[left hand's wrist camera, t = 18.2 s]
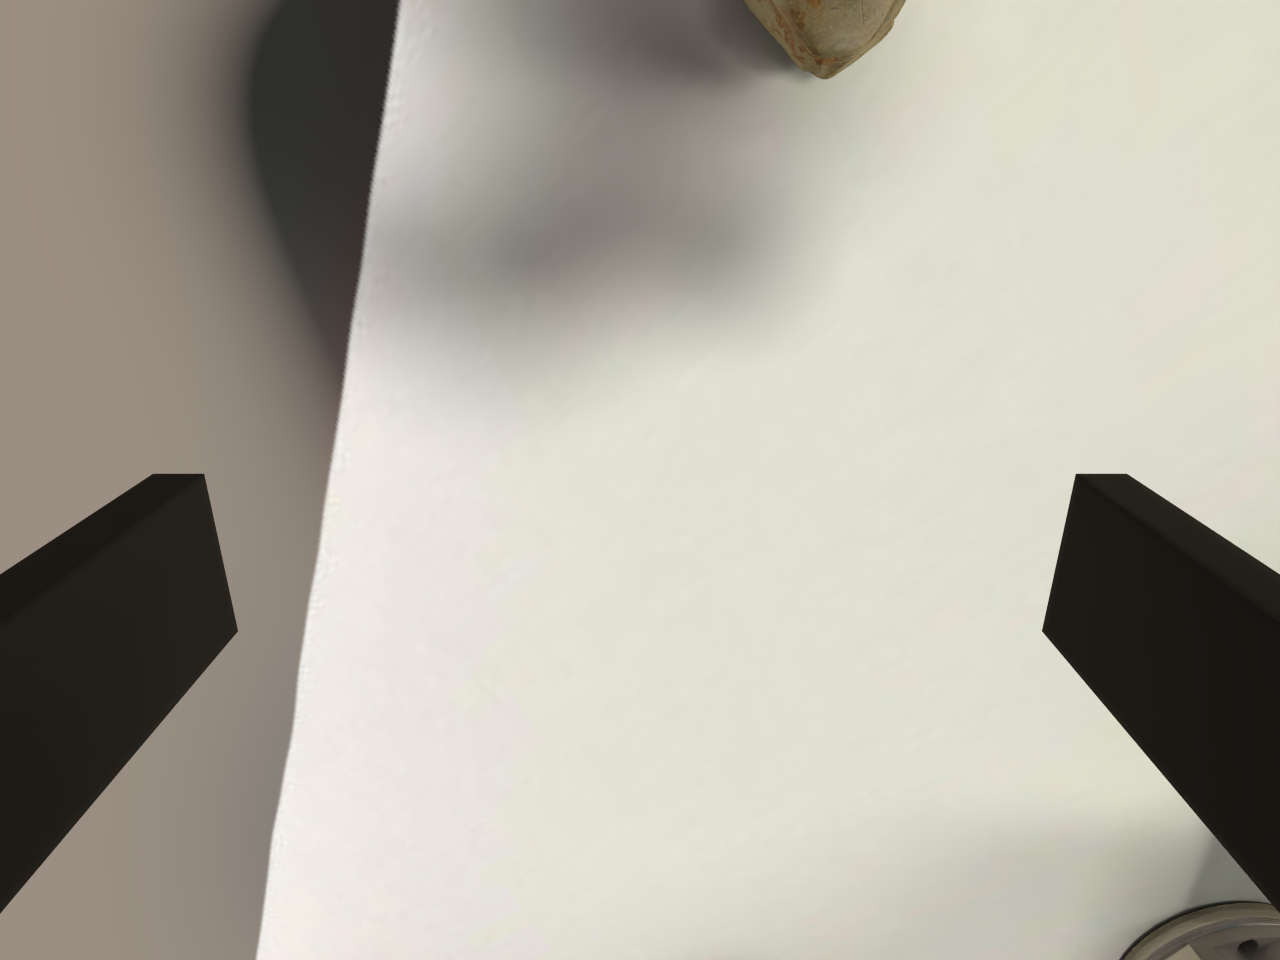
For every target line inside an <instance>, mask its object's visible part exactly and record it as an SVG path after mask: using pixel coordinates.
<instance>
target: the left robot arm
mask: <svg viewBox="0 0 1280 960" xmlns="http://www.w3.org/2000/svg"><path fill="white" fill-rule="evenodd" d="M237 632H238V629H237V624H236V620H235V615H234V611H233V606H232V601H231V597H230V592H229V587H228V583H227V578H226V573H225V569H224V564H223V559H222V555H221V550H220V546H219V541H218V536H217V532H216V527H215V522H214V518H213V513H212V508H211V504H210V499H209V495H208V490H207V485H206V481H205V476H204V474H152V475H151V476H149V477H148V478H146V479H145V480H143V481H142V482H140V483H139V484H137V485H136V486H134V487H133V488H131V489H129V490H128V491H126V492H125V493H123V494H122V495H120V496H119V497H117V498H116V499H114V500H113V501H111V502H110V503H108V504H107V505H105V506H104V507H102V508H101V509H99V510H98V511H96V512H95V513H93V514H91V515H90V516H88V517H87V518H85V519H84V520H82V521H81V522H79V523H78V524H76V525H75V526H73V527H72V528H70V529H69V530H67V531H66V532H64V533H63V534H61V535H60V536H58V537H56V538H55V539H54V540H52V541H50V542H49V543H47V544H46V545H44V546H43V547H41V548H40V549H38V550H37V551H35V552H34V553H32V554H31V555H29V556H28V557H26V558H25V559H23V560H22V561H20V562H19V563H17V564H15V565H14V566H12V567H11V568H9V569H8V570H6V571H5V572H3V573H2V574H0V913H1V912H2V911H3V909H4V908H5V907H6V906H7V905H8V904H9V902H10V901H11V900H12V899H13V898H14V896H15V895H16V894H17V893H18V892H19V890H20V889H21V888H22V887H23V886H24V884H25V883H26V882H27V881H28V880H29V879H30V877H31V876H32V875H33V874H34V873H35V871H36V870H37V869H38V868H39V867H40V865H41V864H42V863H43V862H44V861H45V860H46V858H47V857H48V856H49V855H50V854H51V852H52V851H53V850H54V849H55V848H56V847H57V845H58V844H59V843H60V842H61V841H62V839H63V838H64V837H65V836H66V835H67V833H68V832H69V831H70V830H71V829H72V827H73V826H74V825H75V824H76V823H77V822H78V820H79V819H80V818H81V817H82V816H83V814H84V813H85V812H86V811H87V810H88V809H89V807H90V806H91V805H92V804H93V803H94V801H95V800H96V799H97V798H98V797H99V795H100V794H101V793H102V792H103V791H104V790H105V788H106V787H107V786H108V785H109V784H110V782H111V781H112V780H113V779H114V778H115V776H116V775H117V774H118V773H119V772H120V770H121V769H122V768H123V767H124V766H125V765H126V763H127V762H128V761H129V760H130V759H131V757H132V756H133V755H134V754H135V753H136V751H137V750H138V749H139V748H140V747H141V746H142V744H143V743H144V742H145V741H146V740H147V738H148V737H149V736H150V735H151V734H152V732H153V731H154V730H155V729H156V728H157V727H158V725H159V724H160V723H161V722H162V721H163V719H164V718H165V717H166V716H167V715H168V714H169V712H170V711H171V710H172V709H173V708H174V706H175V705H176V704H177V703H178V702H179V700H180V699H181V698H182V697H183V696H184V695H185V693H186V692H187V691H188V690H189V689H190V687H191V686H192V685H193V684H194V683H195V681H196V680H197V679H198V678H199V677H200V675H201V674H202V673H203V672H204V671H205V670H206V668H207V667H208V666H209V665H210V664H211V662H212V661H213V660H214V659H215V658H216V656H217V655H218V654H219V653H220V652H221V651H222V649H223V648H224V647H225V646H226V645H227V643H228V642H229V641H230V640H231V639H232V637H233V636H234V635H235V634H236V633H237ZM1042 632H1043V633H1044V634H1045V635H1046V636H1047V638H1048V639H1049V640H1050V641H1051V642H1052V643H1053V645H1054V646H1055V647H1056V648H1057V649H1058V651H1059V652H1060V653H1061V654H1062V655H1063V657H1064V658H1065V659H1066V660H1067V661H1068V662H1069V664H1070V665H1071V666H1072V667H1073V668H1074V670H1075V671H1076V672H1077V673H1078V674H1079V676H1080V677H1081V678H1082V679H1083V680H1084V681H1085V683H1086V684H1087V685H1088V686H1089V687H1090V689H1091V690H1092V691H1093V692H1094V693H1095V695H1096V696H1097V697H1098V698H1099V699H1100V700H1101V702H1102V703H1103V704H1104V705H1105V706H1106V708H1107V709H1108V710H1109V711H1110V712H1111V714H1112V715H1113V716H1114V717H1115V718H1116V719H1117V721H1118V722H1119V723H1120V724H1121V725H1122V727H1123V728H1124V729H1125V730H1126V731H1127V733H1128V734H1129V735H1130V736H1131V737H1132V738H1133V740H1134V741H1135V742H1136V743H1137V744H1138V746H1139V747H1140V748H1141V749H1142V750H1143V752H1144V753H1145V754H1146V755H1147V756H1148V757H1149V759H1150V760H1151V761H1152V762H1153V763H1154V765H1155V766H1156V767H1157V768H1158V769H1159V771H1160V772H1161V773H1162V774H1163V775H1164V776H1165V778H1166V779H1167V780H1168V781H1169V782H1170V784H1171V785H1172V786H1173V787H1174V788H1175V790H1176V791H1177V792H1178V793H1179V794H1180V795H1181V797H1182V798H1183V799H1184V800H1185V801H1186V803H1187V804H1188V805H1189V806H1190V807H1191V809H1192V810H1193V811H1194V812H1195V813H1196V814H1197V816H1198V817H1199V818H1200V819H1201V820H1202V822H1203V823H1204V824H1205V825H1206V826H1207V828H1208V829H1209V830H1210V831H1211V832H1212V833H1213V835H1214V836H1215V837H1216V838H1217V839H1218V841H1219V842H1220V843H1221V844H1222V845H1223V847H1224V848H1225V849H1226V850H1227V851H1228V852H1229V854H1230V855H1231V856H1232V857H1233V858H1234V860H1235V861H1236V862H1237V863H1238V864H1239V866H1240V867H1241V868H1242V869H1243V870H1244V871H1245V873H1246V874H1247V875H1248V876H1249V877H1250V879H1251V880H1252V881H1253V882H1254V883H1255V885H1256V886H1257V887H1258V888H1259V889H1260V890H1261V892H1262V893H1263V894H1264V895H1265V896H1266V898H1267V899H1268V900H1269V901H1270V902H1271V904H1272V905H1273V906H1274V907H1275V908H1276V909H1277V911H1278V912H1279V913H1280V574H1278V573H1277V572H1275V571H1274V570H1272V569H1271V568H1269V567H1268V566H1266V565H1265V564H1263V563H1262V562H1260V561H1258V560H1257V559H1255V558H1254V557H1252V556H1251V555H1249V554H1248V553H1246V552H1245V551H1243V550H1242V549H1240V548H1239V547H1237V546H1236V545H1234V544H1233V543H1231V542H1230V541H1228V540H1227V539H1225V538H1224V537H1222V536H1220V535H1219V534H1217V533H1216V532H1214V531H1213V530H1211V529H1210V528H1208V527H1207V526H1205V525H1204V524H1202V523H1201V522H1199V521H1198V520H1196V519H1195V518H1193V517H1192V516H1190V515H1189V514H1187V513H1186V512H1184V511H1182V510H1181V509H1179V508H1178V507H1176V506H1175V505H1173V504H1172V503H1170V502H1169V501H1167V500H1166V499H1164V498H1163V497H1161V496H1160V495H1158V494H1157V493H1155V492H1154V491H1152V490H1151V489H1149V488H1148V487H1146V486H1144V485H1143V484H1141V483H1140V482H1138V481H1137V480H1135V479H1134V478H1132V477H1131V476H1129V475H1128V474H1076V476H1075V481H1074V485H1073V490H1072V495H1071V499H1070V504H1069V508H1068V513H1067V518H1066V522H1065V527H1064V532H1063V536H1062V541H1061V546H1060V550H1059V555H1058V559H1057V564H1056V569H1055V573H1054V578H1053V583H1052V587H1051V592H1050V597H1049V601H1048V606H1047V611H1046V615H1045V620H1044V624H1043V629H1042Z"/></svg>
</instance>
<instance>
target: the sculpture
mask: <svg viewBox="0 0 1280 960" xmlns="http://www.w3.org/2000/svg"><path fill="white" fill-rule="evenodd" d="M743 1H744V2H745V4H746V5H747V6H748V8H749V9H750V10H751V11H752V13H753V14H754V15H755V16H756V18H757V19H758V20H759V21H760V23H761V24H762V25H763V26H764V27H765V28H766V29H767V30H768V31H769V33H770V34H771V35H772V36H773V37H774V38H775V39H776V40H777V42H778V43H779V44H780V45H781V46H782V47H783V48H784V50H785V51H786V52H787V54H788V55H789V56H790V57H791V59H792V60H793V61H794V63H795V64H796V65H797V66H798V67H799V68H800V69H802V70H803V71H809V72H811V73H812V74H814V75H815V76H817V77H819V78H821V79H829V78H831V77H833V76H834V75H836V74H837V73H839V72H840V71H842V70H843V69H845V68H846V67H848V66H849V65H851V64H852V63H854V62H855V61H856V60H858V59H859V58H860V57H861V56H863V55H864V54H865V53H866V52H868V51H869V50H870V49H871V48H872V47H874V46H875V45H876V44H877V43H879V42H880V41H881V40H882V39H883V38H884V37H885V36H886V35H887V34H888V32H889V31H890V30H891V29H892V27H893V24H894V19H895V18H896V16H897V15H898V14H899V12H900V10H901V8H902V7H903V5H904V3H905V1H906V0H743Z"/></svg>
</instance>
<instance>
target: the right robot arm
mask: <svg viewBox="0 0 1280 960" xmlns="http://www.w3.org/2000/svg"><path fill="white" fill-rule="evenodd" d="M1124 960H1280V913H1279V912H1278V911H1277V909H1276V908H1275V907H1274V906H1273V905H1269V904H1260V903H1234V904H1225V905H1219V906H1214V907H1209V908H1205V909H1201V910H1198V911H1195V912H1192V913H1189V914H1186V915H1184V916H1181V917H1179V918H1177V919H1175V920H1172V921H1170V922H1169V923H1167V924H1165V925H1163V926H1161V927H1160V928H1158V929H1156V930H1155V931H1153V932H1152V933H1150V934H1149V935H1148V936H1146V937H1145V938H1144V939H1143V940H1142V941H1140V942H1139V943H1138V944H1137V945H1136V946H1135V947H1134V948H1133V949H1132V950H1131V951H1130V952H1129V953H1128V955H1127V956H1126V957H1125V958H1124Z"/></svg>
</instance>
